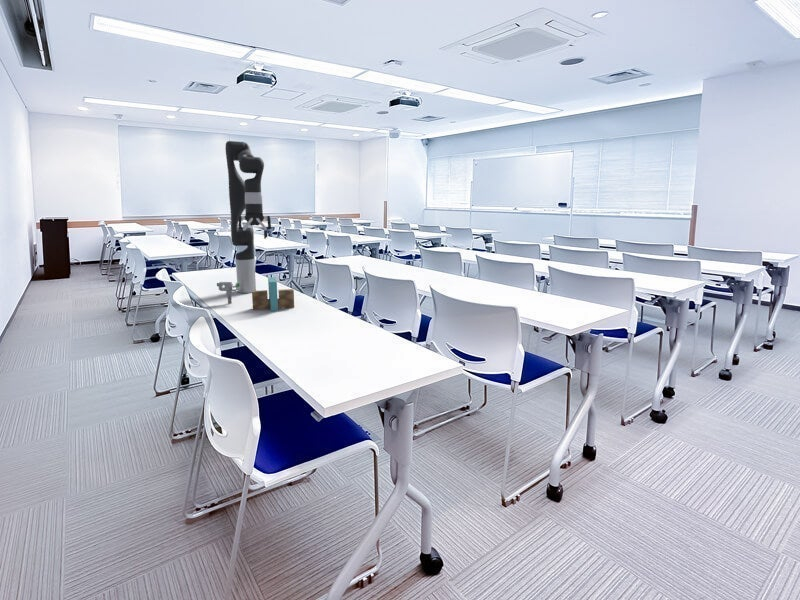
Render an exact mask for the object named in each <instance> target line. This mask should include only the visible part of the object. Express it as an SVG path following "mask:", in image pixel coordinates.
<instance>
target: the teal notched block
mask: <svg viewBox="0 0 800 600" xmlns="http://www.w3.org/2000/svg"><path fill="white" fill-rule="evenodd" d="M267 282H268V285H267V286H268V299H270V309H269V310H270V312H279V308H278V298H279V297H278V282H277V280H276V277H275V276H273V277H268V278H267Z"/></svg>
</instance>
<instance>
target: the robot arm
mask: <svg viewBox="0 0 800 600" xmlns="http://www.w3.org/2000/svg"><path fill="white" fill-rule="evenodd" d="M225 157H226V165H227V166H226V167H227V174H228V195H229V196H228V198H229V206H230V208H229V209H230V237H231V243H232V246H235V247H243V246H246V248H245V249H243V250H242V251H239V252H236V253H235V267H236V283H240V287H239V289H238V290H237V293H238V294H239V293H241V294H250V293H251V294H252V291H257V283H256V282H257V281H256V265H255V264H256V263H255V247H254V245H255V243H254V239H255V238H254V235H255V234H254V230H253V228H252V227H249V226H260V227H261V228H262V229H263V237H264V238H263V239H264V240H266V239H267V238H268V231H269V230H271V229H272V223H271V217H270V215H266V216H265V215H264V213H263V208H264V207H263V196H262V177H263V172H264V169H265V162H264V160H263V158H261V157H259V156H258V157H257V156H254V154H252V151H251V148H250V146H249V144H248V143H247V142H245V141H236V140H235V141H234V140H228V141H226V143H225ZM235 161H236V162H237V161H238V166H239V170H240V171H241V172H242V173H244V174H255V175H254V176H253V177H251V178H246V179H245V180H244V179H243V178H242V176H241V175H240V174H239V171H238V169H237V167H236V165H235ZM244 211H245V216H244V215H242V214H243V213H244ZM264 219H265V221H267V226H266V225H265V224H264V223H263V221H264ZM244 220H245V221H246V223H245V225H244V226H242V222H243V221H244Z"/></svg>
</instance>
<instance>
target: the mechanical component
mask: <svg viewBox="0 0 800 600" xmlns="http://www.w3.org/2000/svg"><path fill="white" fill-rule="evenodd" d="M216 286H217V287H218V290H219V291H220V292H226V293H225V294H226V296H227V304H228V305H231V304H232V295H233V292H238V289H239V287H240V283H237V282H235V285H234V284H233V282H232V281H219V282H217V283H216ZM234 288H236V289H234Z"/></svg>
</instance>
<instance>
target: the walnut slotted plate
mask: <svg viewBox="0 0 800 600" xmlns="http://www.w3.org/2000/svg"><path fill="white" fill-rule="evenodd" d="M277 292H278V297H277V298H278V309H289V308H290V309H291V308H292V309H293V308H295V291H294V288H292V289H291V288H287V289H286V288H285V289H277ZM251 298H252V301H251V302H252V311H257V310H258V311H260V310H271V309H270V299H269V293H268V290H267V289H266V290H263V289H262V290H256V291H252V292H251Z"/></svg>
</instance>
